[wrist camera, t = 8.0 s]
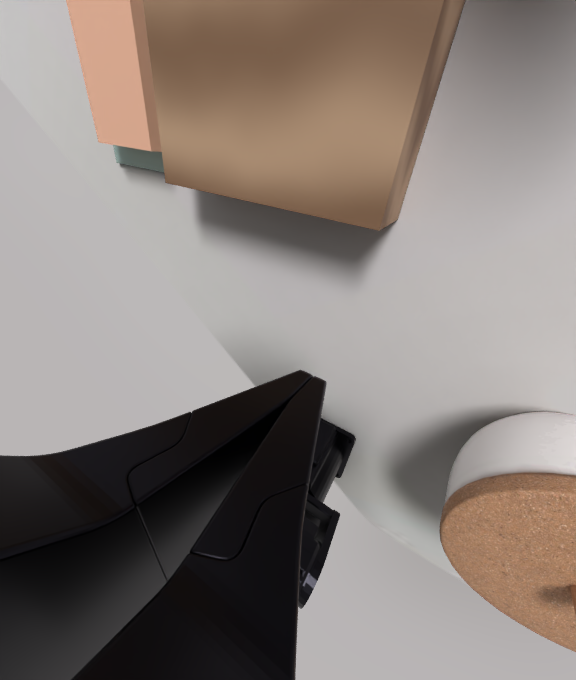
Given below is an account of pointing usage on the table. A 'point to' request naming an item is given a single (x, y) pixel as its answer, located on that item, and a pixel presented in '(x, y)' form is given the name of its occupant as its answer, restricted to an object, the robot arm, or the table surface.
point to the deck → (298, 98)
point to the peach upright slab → (117, 71)
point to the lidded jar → (518, 520)
